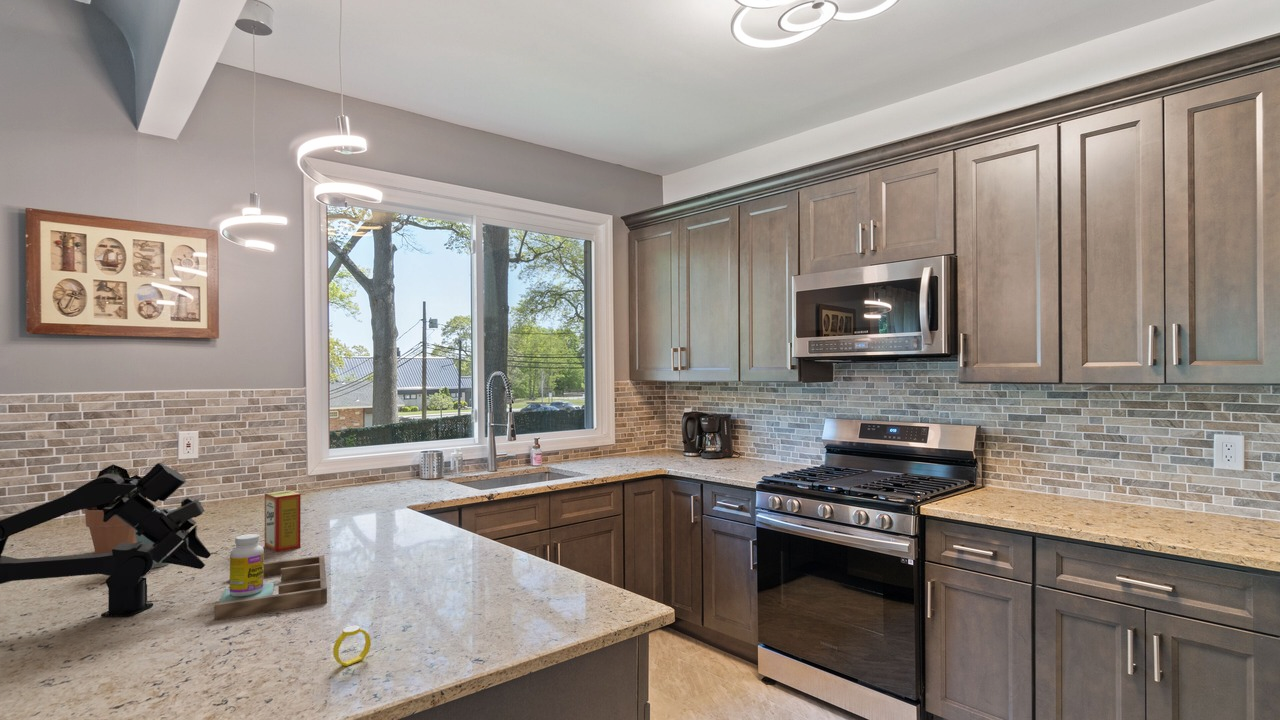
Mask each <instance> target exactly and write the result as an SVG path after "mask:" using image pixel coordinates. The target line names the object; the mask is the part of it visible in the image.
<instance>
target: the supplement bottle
mask: <svg viewBox="0 0 1280 720" xmlns="http://www.w3.org/2000/svg"><path fill="white" fill-rule="evenodd" d="M259 541H260V534H258V533H250V534H249V533H247V534H242V535H237V536H236V537H235V541H234V543H235V545H236V547H234V548H233V549H232V550H230V554H229V588H230V595H232V596H236V597H242V596H249V595H253V594H256V593H259V592H260V591H262V589H263V584H264V576H263V571H264V563H265V562H264V561H265V560H264V559H265V552H264V551H265V550H264V547H263V546H262V545H259Z"/></svg>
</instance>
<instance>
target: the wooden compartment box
mask: <svg viewBox="0 0 1280 720" xmlns="http://www.w3.org/2000/svg"><path fill="white" fill-rule="evenodd" d="M325 561H326V560H325V555H316V556H310V557H301V558H292V559H286V560H285V559H284V560H275V561H270V562H269V561H268V562H264V571H263V577H268V576H275V575H280V582H282V583H283V582H289V581H296V582H289V583H283V584H278V591H277V592H278V594H273V592H274V587H275V582H267V583H263V589H262V591H260V592H259V593H256V594H253V595H249V596H242V597H236V596H232V595H230V587H228V588H225V589H224V590H223V593H222V595H221V598H220V601H219V602H217V603H214V605H213V607H214V609H213V611H214V612H213V616H214V617H213V619H214V621H218V620H224V619H231V618H237V617H242V616H243V617H244V616H250V615H255V614H263V613H267V612H268V613H269V612H276V611H282V610H287V609H294V608H300V607H308V606H314V605H320V604H327V603H328V585H327V574H326V572H327V570H326V562H325ZM311 578H317V579H311ZM305 579H311V580H305ZM297 580H303V581H297Z"/></svg>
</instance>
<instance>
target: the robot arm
mask: <svg viewBox="0 0 1280 720" xmlns="http://www.w3.org/2000/svg"><path fill="white" fill-rule="evenodd" d="M186 482H187V480H186V478H185V477H184V476H183V475H182V474H181V473H180V472H179V471H177V470H176V469H173V468H171V467H170V466H167V465H165V464H163V462H158V463H156V464H155V465H154V466H153V467H152V468H151V469H150V471H148V472H147V473H146V474H145V475H143V476H142V477H141V479H123V478H122V477H120V476H119V475H115V474H105V475H103V476H100V477H98V478H97V477H96V478H95V479H92V480H90V481H89V482H87V483H85V484H83V485H81V486H79V487H78V488H75V489H74V490H72V491H71V492H68V493H67V494H65V495H62V496H60V497H57V498H55V499H52V500H49V501H47V502H44V503H41V504H39V505H36V506H34V507H31V508H28V509H26V510H23V511H20V512H18V513H15V514H12V515H10V516H7V517H4V518H0V585H3V584H6V583H10V582H17V581H30V580H40V579H53V578H65V577H66V578H69V577H79V576H91V575H103V576H104V575H105V576H108V577H107V578H106V579H105V584H106V586H107V588H108V592H107V593H108V597H107V599H108V601H107V602H108V603H107V605H108V606H107V607H108V609H107V611H105V612H102V613H101V614H100V617H132V616H134V615H136V614H138V613H141V612H143V611H145V610H147V609H149V608H152V607H153V606H154V603H153V602H149V603H148V584H147V577H145V576H146V575H147V574H148V573H149V572H150V571H152V569H153V568H152V567H153V566H154V565H155V564H156V562H157V563H158V562H160V561H161V560H162V559H163V558H164V557H165V556H166V557H165V558H164V559H163V560H162V562H161V563H169V564H168V565H175V566H176V565H177V566H182V567H188V568H193V569H198V570H203V568H204V567H205V566H206V564H205V563H204V562H203V560H201V559H200V558H203V559H207V560H208V558H210V557H211V556H212V554H211V553H210V551H209V550H208V549H207V547H206V546H205V545H204V543H203V542H202V541H201V539H200V538H199V537H198V525H197V522H196V520H194V519H193V518H198V517H200V516H202V515H203V513H204V512H205V509H204V507H203V506H202V502H201V501H199V499H197V498H196V499H193V498H192V497H188V498H185V499H183V500H182V501H181V502H180V503H181V504H180V505H181V506H178V507H176V508H177V509H175V510H173V511H171V512H170V511H169V510H167V509H164V508H165V507H164V508H163V509H162V508H159V507H158V506H156V505H155V504H154V503H156V502H157V501H158V502H159V501H160V502H165V501H166V500H167V499H168V498H170V497H171V496H172V495H173V494H174V493H175V492H176V491H177V490H178V489H179V488H181V487H182V486H183V485H184V484H185V483H186ZM137 488H138V489H140V490H139V491H138V492H136V493H135V494H134V495H133V496H132V497H131V498H126V497H123V498H122V499H120V500H119V501H118V502H117V503H116V504H115V505H114V506H112V507H106V508H104V509H103V513H104V516H103V522H107V521H108V520H110V519H111V518H112V517H113V516H117V517H118V518H119V519H121V520H122V521H124V522H125V523H126V524H128V525H129V526H131V527H132V528H134V527H135V526H136V525H137V526H136V527H135V528H134V529H135V530H136V531H138V532H137V533H135V534H137V535H138V536H139V537H140V536H141V535H143V536H145V537H146V538H147V539H149V540H150V541H152V542H153V543H154V544H153V545H150V544H142V542H143V541H140V542H137V543H119V544H118V545H116V546H115V547H114V548H113V549H112V551H111V552H107V553H98V554H96V553H86V554H72V555H56V556H41V557H29V558H27V557H26V558H15V557H10V556H6V555H2V554H3V552H4V550H5V548H6V547H5V546H6V545H7V542H8V539H9V538H10V536H13V535H16V534H18V533H20V532H23V531H25V530H29V529H31V528H33V527H36V526H39V525H41V524H44V523H46V522H48V521H52V520H54V519H56V518H59V517H62V516H64V515H67V514H69V513H73V512H77V511H82V510H85V509H88V508H92V507H96V506H100V505H105V504H108V503H110V502H112V501H114V500H115V499H117V498H118V497H120V496H122V495H126V494H129V493H130V492H132V491H133V490H135V489H137ZM140 493H141V494H143V495H144V496H145V497H146V498H144V497H143V496H142V495H140ZM151 501H152V502H151ZM154 509H155V510H154ZM161 509H162V510H161ZM153 510H154V511H153ZM191 528H192V529H191Z"/></svg>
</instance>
